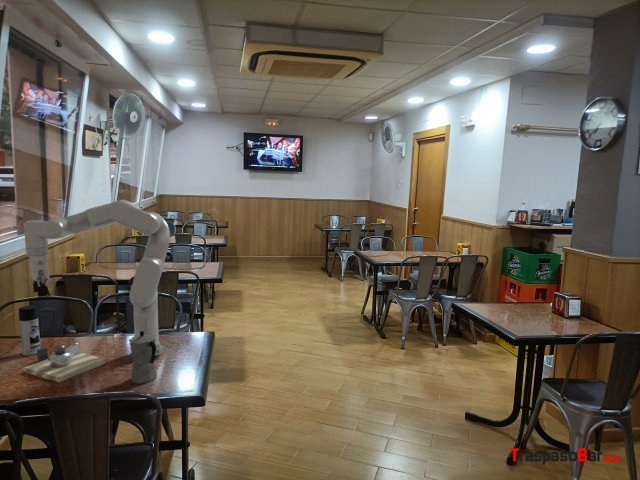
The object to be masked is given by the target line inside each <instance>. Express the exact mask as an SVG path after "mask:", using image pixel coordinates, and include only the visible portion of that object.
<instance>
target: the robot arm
mask: <svg viewBox="0 0 640 480" xmlns="http://www.w3.org/2000/svg"><path fill="white" fill-rule="evenodd" d="M115 224H119V225H123V226H124V227H127V228H129V229H131V230H132V231H136V232H138V233H140V234H143V235H148V239H147V243H146V247H145V250H144V252H143V253H144V254H143V255H142V256H143V257H142V259H141V260H140V261H139V262H138V264H137V268H136V270H135V272H134V273H135V274H134V277H133V281H132V284H131V288H130V291H129V295H128V296H129V301H130V302H131V304H132V305H133V327H134V330H133V331H134V332H133V333H134V336H140V332H141V331H144V335H149V336H154V337H155V345H156V353H155V357H156V356H159V355H161V354H163V352H164V351H165V350H166V349H165V346H162V344H161V343H162V342H161V341H160V339H159V337H160V334H159V333H160V332H159V308H158V303H159V302H158V296H159V295H158V293H159V292H158V286H159V283H160V279H161V276H162V273H163V270H164V265H165V260H166V257H167V255H168V254H167V253H168V249H169V246H170V241H171V232H170V228H169V225H168V222H167V221H166V219H164V217H162V216H161V215H160V214H159V213H157V212H154V211H153V212H152V211H148V212H147V211H145V210H142V209H141V208H138V207H136V206H134V204H133V203H132V202H131V201H129V200H126V199H120V200H115V201H113V202H109V203H106V204H101V205H97V206H94V207H91V208H88V209H86V210H83V211H82V212H79V213H75V214H72V215H67V216H64V217H60V218H56V219H51V220H46V221H45V220H41V219H40V220H39V219H38V220H37V219H36V220H32V219H31V220H26V221H25V222H24V223H23V230H24V231H23V232H24V233H23V234H24V244H25V256H26V257H27V258H28V257H29V264H30V265H29V266H30V276H31V278H32V286H33V287H32V289H33V293H37V297H38V298H43V297H48V295H49V293H48V285H47V281H49V280H50V273H49V263H48V258H47V256H48V255H49V244H48V241H49V240H48V239H50V240H57V239H58V240H59V239H61V238H65V237H67V236H70V235H73V234H78V233H81V232H84V231H89V230H97V229H102V228H105V227H108V226H111V225H115Z"/></svg>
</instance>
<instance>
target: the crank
mask: <svg viewBox="0 0 640 480" xmlns="http://www.w3.org/2000/svg"><path fill="white" fill-rule="evenodd" d="M53 347H54V351H53V352H51V353H50V354H49V358H50V366H52V367H61V366H66V365H68V364H70V363H71V357H72V356H74V355H75V354H76V353H77V352H80V343H79V342H77V341H75V342H72V343H71V344H70V345H69V346H67V347H66V345H65V344H62V343H61V344H57V345H54V346H53Z"/></svg>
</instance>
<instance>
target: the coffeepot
mask: <svg viewBox="0 0 640 480" xmlns="http://www.w3.org/2000/svg"><path fill="white" fill-rule="evenodd" d="M128 342H129V346H130V351H131V357H132V359H133V362H132V367H131V368H132V369H131V377H130V380H131V382H132V383H134V384H148V383H150V382H153V381H154V380H156V379H157V372H156V367H155V363H154V362H155V357H156V356H155V353H156V345H155V337H154V336H149V335H144V331H141V332H140V336H135V335H134V336H131V338H129V339H128Z"/></svg>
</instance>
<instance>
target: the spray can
mask: <svg viewBox="0 0 640 480" xmlns="http://www.w3.org/2000/svg"><path fill="white" fill-rule="evenodd" d="M18 319H19V321H18V322H19V330H20V341H21V342H20V343H21V352H22V353H21V354H22V355H23V356H28V357H29V356H34V355H37V349H41V348H42V347H41V339H40V327H39V325H40V324H39V315H38V306H37V305H26V306H22V307H21V306H20V307H19V308H18Z"/></svg>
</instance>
